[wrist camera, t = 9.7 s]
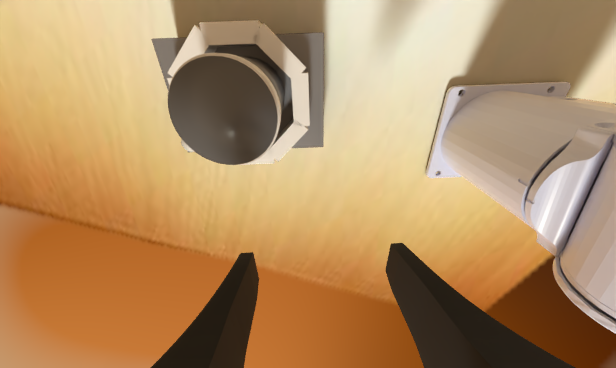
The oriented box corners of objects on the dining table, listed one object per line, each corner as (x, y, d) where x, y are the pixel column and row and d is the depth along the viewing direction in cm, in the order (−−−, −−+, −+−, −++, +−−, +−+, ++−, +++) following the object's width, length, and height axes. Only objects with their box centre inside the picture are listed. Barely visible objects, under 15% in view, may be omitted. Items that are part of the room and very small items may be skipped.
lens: (300, 94, 14) (302, 115, 9) (256, 143, 16) (237, 184, 11) (243, 35, 13) (205, 20, 8) (200, 95, 14) (144, 117, 9)
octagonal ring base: (320, 28, 15) (326, 17, 11) (320, 140, 19) (325, 161, 15) (174, 33, 15) (130, 24, 11) (205, 144, 19) (180, 167, 15)
